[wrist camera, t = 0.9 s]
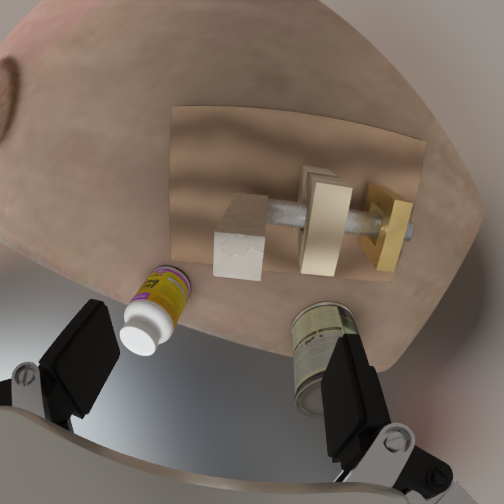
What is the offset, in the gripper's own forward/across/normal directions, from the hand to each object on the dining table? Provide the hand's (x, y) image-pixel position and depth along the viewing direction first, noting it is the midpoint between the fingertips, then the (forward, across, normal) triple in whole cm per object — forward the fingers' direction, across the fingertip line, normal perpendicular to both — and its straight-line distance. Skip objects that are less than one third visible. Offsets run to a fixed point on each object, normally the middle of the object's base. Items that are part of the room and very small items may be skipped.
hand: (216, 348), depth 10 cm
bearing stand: (+25, -5, 0) cm, 26 cm away
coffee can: (+26, -12, +20) cm, 35 cm away
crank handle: (+19, -7, 0) cm, 20 cm away
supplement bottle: (+26, +12, +15) cm, 32 cm away
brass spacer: (+22, -14, 0) cm, 25 cm away
